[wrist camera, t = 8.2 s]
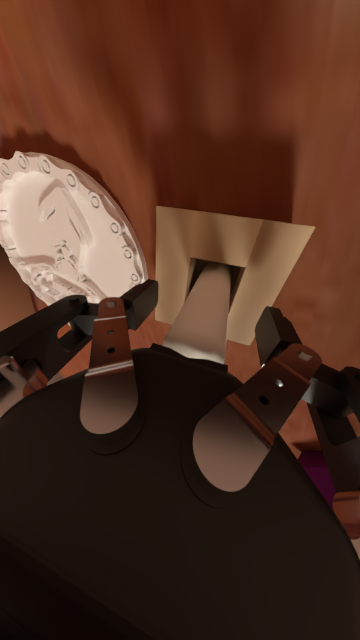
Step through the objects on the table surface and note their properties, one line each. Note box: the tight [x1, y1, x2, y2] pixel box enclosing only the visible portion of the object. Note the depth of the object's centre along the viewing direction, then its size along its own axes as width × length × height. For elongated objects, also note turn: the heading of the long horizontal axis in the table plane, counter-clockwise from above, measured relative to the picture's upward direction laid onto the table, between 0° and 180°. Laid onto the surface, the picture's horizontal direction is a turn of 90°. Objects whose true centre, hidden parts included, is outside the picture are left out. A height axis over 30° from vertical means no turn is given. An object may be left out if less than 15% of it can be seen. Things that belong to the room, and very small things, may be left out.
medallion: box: [0, 151, 148, 327], centre depth 24 cm, size 24×27×2 cm
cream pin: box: [163, 261, 231, 364], centre depth 12 cm, size 3×3×12 cm
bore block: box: [155, 206, 315, 346], centre depth 16 cm, size 11×11×5 cm
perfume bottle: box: [298, 451, 336, 511], centre depth 27 cm, size 8×8×18 cm
